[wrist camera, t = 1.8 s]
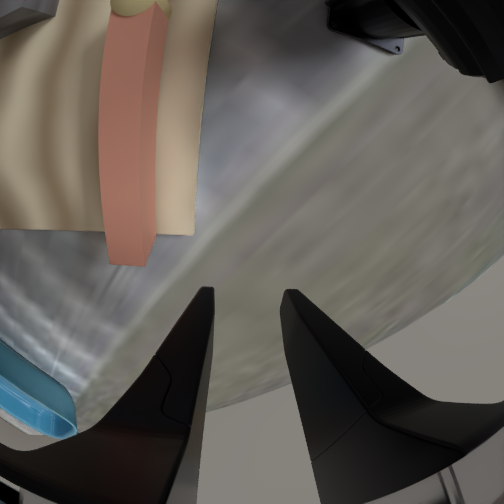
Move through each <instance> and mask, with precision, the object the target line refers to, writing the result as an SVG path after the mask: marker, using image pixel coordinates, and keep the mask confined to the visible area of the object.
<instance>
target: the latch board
mask: <svg viewBox="0 0 504 504" xmlns="http://www.w3.org/2000/svg"><path fill="white" fill-rule="evenodd" d="M168 2H169V4H170V6H171V9H172V12H171V16H170V18H169V21H168V26H167V32H166V39H165V45H164V53H163V60H162V68H161V77H160V87H159V98H158V111H157V128H156V152H155V214H156V234H173V235H193V236H194V230H195V213H196V191H197V174H198V159H199V145H200V133H201V122H202V112H203V102H204V93H205V84H206V76H207V68H208V61H209V53H210V46H211V40H212V33H213V27H214V21H215V15H216V9H217V4H218V0H168ZM110 12H111V6H110V0H0V229H35V230H70V231H100V232H105V228H104V220H103V211H102V201H101V190H100V175H99V150H98V120H99V96H100V82H101V71H102V61H103V53H104V46H105V40H106V33H107V28H108V22H109V17H110Z"/></svg>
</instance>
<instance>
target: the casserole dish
mask: <svg viewBox="0 0 504 504" xmlns="http://www.w3.org/2000/svg"><path fill="white" fill-rule="evenodd" d="M0 408H1V409H3V410H4V411H5V412H7V413H8V414H10V415H11V416H13V417H15V418H16V419H18V420H19V421H21V422H23V423H24V424H26V425H28V426H29V427H31V428H33V429H35V430H37V431H38V432H41V433H43V434H45V435H47V436H50V437H54V438H57V439H66V438H68V437H71V436H73V435H76V434H78V432H77V423H76V411H75V405H74V401H73V399H72V397H71V396H70V394H69V393H68V391H67V389H66V388H65V387H63V386H62V385H61V384H60V383H58V382H57V381H56V380H54V379H53V378H51V377H50V376H49V375H47V374H46V373H44V372H43V371H41V370H40V369H39V368H37V367H36V366H34V365H33V364H32V363H30V362H29V361H27V360H26V359H25V358H23V357H22V356H21V355H19V354H18V353H17V352H15V351H14V350H13V349H12V348H10V347H8V346H7V345H6V344H5V343H4V342H3V341H2V340H1V339H0Z"/></svg>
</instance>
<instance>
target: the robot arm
mask: <svg viewBox="0 0 504 504" xmlns="http://www.w3.org/2000/svg"><path fill="white" fill-rule="evenodd" d="M326 5H327V6H328V7H329V9H328V17H327V27H328V29H329V30H331V31H334V32H337V33H340V34H343V35H346V36H349V37H352V38H355V39H358V40H361V41H363V42H366V43H369V44H371V45H374V46H376V47H379V48H381V49H384V50H386V51H388V52H391V53H393V54H396V55H398V54H402V52H403V44H404V38H409V37H416V36H424V35H426V36H427V37H428V39H429V40H430V41H431V42H432V43H433V45H434V46H435V47H436V49H437V50H438V51H439V52H438V53H439V54H440V56H441V57H442V59H443V60H445V61H446V62H447V63H448V64H449V65H451V66H452V67H454V68H456V69H458V70H459V72H460V73H461V74H463V75H467V76H472V77H484V78H486V79H487V81H488V82H489V83H493V82H496V81H499V80H502V79H504V0H326ZM332 23H334V24H336V28H335V27H333V26H332ZM395 47H397V49H398V51H396V49H395ZM214 315H215V300H214V288H213V287H206V286H202V287H201V288H200V289H199V291H198V292H197V293H196V295H195V296H194V298H193V299H192V301H191V302H190V303H189V305H188V306H187V308H186V309H185V311H184V312H183V314H182V315H181V316H180V318H179V319H178V321H177V322H176V324H175V325H174V327H173V328H172V330H171V331H170V333H169V334H168V335H167V337H166V338H165V340H164V341H163V343H162V344H161V346H160V347H159V349H158V350H157V352H156V353H155V355H154V356H153V357H152V359H151V360H150V362H149V363H148V365H147V366H146V368H145V369H144V370H143V372H142V373H141V374H140V376H139V377H138V378H137V379H136V381H135V382H134V383H133V384H132V385H131V387H130V388H129V389H128V390H127V391H126V392H125V393H124V395H123V396H122V397H121V398H120V399H119V400H118V401H117V402H116V403H115V405H114V406H113V407H112V408H111V409H110V410H109V411H108V412H107V414H106V415H105V416H104V417H103V418H102V419H101V420H100V421H99V422H98V423H97V424H95V425H94V426H92V427H91V428H89V429H88V430H86V431H83V432H81V433H78V434H76V435H73V436H71V437H68V438H66V439H63V440H61V441H58V442H55V443H53V444H50V445H47V446H44V447H41V448H38V449H35V450H31V451H18V450H14V449H11V448H9V447H7V446H6V445H3V444H1V443H0V476H1V477H3V478H5V479H6V480H8V481H10V482H12V483H14V484H15V485H17V486H20V491H18V490H16V489H14V488H12V487H10V486H9V485H7V484H5V483H3V482H2V481H0V504H196V501H197V490H198V479H199V468H200V458H201V449H202V439H203V430H204V421H205V413H206V404H207V396H208V388H209V380H210V372H211V364H212V356H213V336H214ZM280 318H281V327H282V335H283V344H284V351H285V356H286V361H287V365H288V369H289V373H290V377H291V381H292V385H293V389H294V393H295V397H296V401H297V405H298V409H299V413H300V418H301V422H302V426H303V430H304V434H305V438H306V442H307V446H308V451H309V455H310V459H311V461H312V462H311V464H312V468H313V472H314V477H315V481H316V485H317V489H318V494H319V498H320V502H321V504H504V401H502V402H499V403H494V404H474V403H473V404H472V403H453V402H442V401H437V400H433V399H431V398H429V397H427V396H425V395H423V394H422V393H421V392H419V391H418V390H416V389H415V388H414V387H412V386H411V385H409V384H408V383H407V382H405V381H404V380H402V379H401V378H400V377H398V376H397V375H396V374H394V373H393V372H392V371H391V370H389V369H388V368H387V367H385V366H384V365H383V364H382V363H380V362H379V361H378V360H377V359H376V358H375V357H373V356H372V355H371V354H370V353H369V352H368V351H365V349H364V348H363V347H362V346H361V345H360V344H359V343H358V342H356V341H355V340H354V339H353V338H352V337H351V336H350V335H349V334H347V333H346V332H345V331H344V330H343V329H342V328H341V327H340V326H338V325H337V324H336V323H335V322H334V321H333V320H332V319H331V318H329V317H328V316H327V315H326V314H325V313H324V312H323V311H322V310H320V309H319V308H318V307H317V306H316V305H315V304H314V303H312V302H311V301H310V300H309V299H308V298H307V297H306V296H305V295H303V294H302V293H301V292H300V291H299V290H297V289H286V290H285V291H284V294H283V298H282V302H281V306H280Z"/></svg>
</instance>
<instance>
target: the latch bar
mask: <svg viewBox="0 0 504 504" xmlns="http://www.w3.org/2000/svg"><path fill="white" fill-rule="evenodd" d="M110 6H111V12H110V17H109V22H108V28H107V33H106V40H105V46H104V53H103V61H102V71H101V82H100V96H99V120H98V150H99V175H100V190H101V201H102V211H103V220H104V228H105V236H106V243H107V249H108V255H109V261H110V264H113V265H129V266H145V265H146V262H147V259H148V257H149V254H150V251H151V248H152V246H153V243H154V240H155V238H156V214H155V152H156V128H157V111H158V98H159V87H160V77H161V68H162V60H163V53H164V45H165V39H166V32H167V26H168V21H169V18H170V16H171V12H172V9H171V6H170V4H169V2H168V0H110Z"/></svg>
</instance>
